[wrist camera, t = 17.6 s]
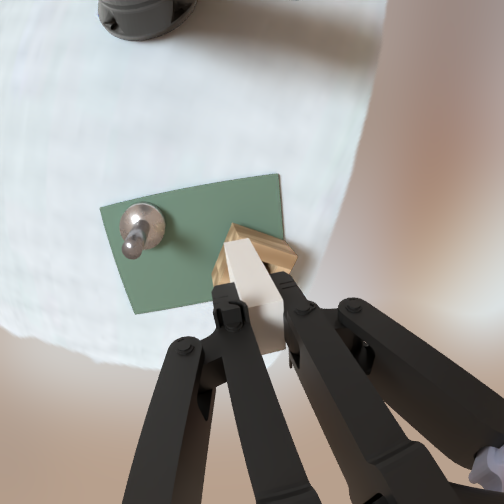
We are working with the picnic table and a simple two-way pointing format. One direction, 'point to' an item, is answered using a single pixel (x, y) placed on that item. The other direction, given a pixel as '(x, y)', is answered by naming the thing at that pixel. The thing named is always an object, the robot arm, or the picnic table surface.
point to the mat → (191, 238)
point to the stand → (141, 228)
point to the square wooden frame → (267, 247)
